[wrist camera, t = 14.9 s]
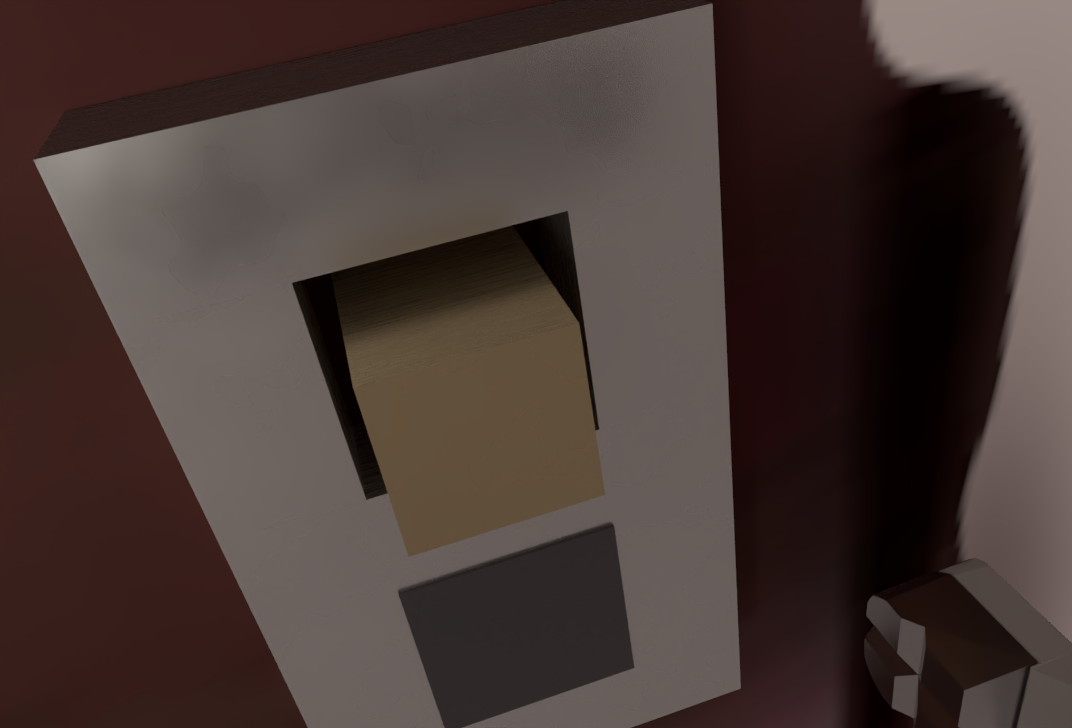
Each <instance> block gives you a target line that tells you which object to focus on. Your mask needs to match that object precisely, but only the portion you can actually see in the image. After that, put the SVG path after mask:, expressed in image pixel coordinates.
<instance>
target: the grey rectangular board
mask: <svg viewBox="0 0 1072 728" xmlns="http://www.w3.org/2000/svg"><path fill="white" fill-rule="evenodd" d="M34 162H35V164H36V166H37V168H38V170H39V172H40V175H41V177H42V179H43V181H44V183H45V185H46V187H47V189H48V191H49V193H50V195H51V197H52V199H53V201H54V203H55V206H56V208H57V210H58V212H59V214H60V216H61V218H62V220H63V222H64V224H65V226H66V228H67V230H68V232H69V235H70V237H71V239H72V241H73V243H74V245H75V247H76V249H77V251H78V253H79V255H80V257H81V259H82V261H83V263H84V266H85V268H86V270H87V272H88V274H89V276H90V278H91V280H92V282H93V284H94V286H95V288H96V290H97V292H98V294H99V297H100V299H101V301H102V303H103V305H104V307H105V309H106V311H107V313H108V315H109V317H110V319H111V321H112V323H113V326H114V328H115V330H116V332H117V334H118V336H119V338H120V340H121V342H122V344H123V346H124V348H125V350H126V352H127V354H128V357H129V359H130V361H131V363H132V365H133V367H134V369H135V371H136V373H137V375H138V377H139V379H140V381H141V383H142V385H143V388H144V390H145V392H146V394H147V396H148V398H149V400H150V402H151V404H152V406H153V408H154V410H155V412H156V414H157V417H158V419H159V421H160V423H161V425H162V427H163V429H164V431H165V433H166V435H167V437H168V439H169V441H170V443H171V445H172V448H173V450H174V452H175V454H176V456H177V458H178V460H179V462H180V464H181V466H182V468H183V470H184V472H185V474H186V476H187V479H188V481H189V483H190V485H191V487H192V489H193V491H194V493H195V495H196V497H197V499H198V501H199V503H200V505H201V508H202V510H203V512H204V514H205V516H206V518H207V520H208V522H209V524H210V526H211V528H212V530H213V532H214V534H215V536H216V539H217V541H218V543H219V545H220V547H221V549H222V551H223V553H224V555H225V557H226V559H227V561H228V563H229V565H230V567H231V570H232V572H233V574H234V576H235V578H236V580H237V582H238V584H239V586H240V588H241V590H242V592H243V594H244V596H245V599H246V601H247V603H248V605H249V607H250V609H251V611H252V613H253V615H254V617H255V619H256V621H257V623H258V625H259V627H260V630H261V632H262V634H263V636H264V638H265V640H266V642H267V644H268V646H269V648H270V650H271V652H272V654H273V656H274V658H275V661H276V663H277V665H278V667H279V669H280V671H281V673H282V675H283V677H284V679H285V681H286V683H287V685H288V687H289V690H290V692H291V694H292V696H293V698H294V700H295V702H296V704H297V706H298V708H299V710H300V712H301V714H302V716H303V718H304V721H305V723H306V725H307V727H308V728H632V727H634V726H637V725H640V724H643V723H645V722H648V721H651V720H654V719H657V718H659V717H662V716H665V715H668V714H671V713H673V712H676V711H679V710H682V709H685V708H687V707H690V706H693V705H696V704H699V703H701V702H704V701H707V700H710V699H713V698H715V697H718V696H721V695H724V694H727V693H729V692H732V691H735V690H738V689H741V682H740V657H739V633H738V609H737V585H736V561H735V536H734V512H733V488H732V464H731V439H730V415H729V391H728V367H727V343H726V318H725V294H724V270H723V246H722V222H721V197H720V173H719V149H718V125H717V100H716V76H715V52H714V28H713V4H712V3H710V2H707V1H705V0H563V1H558V2H554V3H549V4H545V5H540V6H536V7H531V8H527V9H522V10H518V11H513V12H509V13H504V14H500V15H495V16H491V17H487V18H482V19H478V20H473V21H469V22H464V23H460V24H455V25H451V26H446V27H442V28H437V29H433V30H428V31H424V32H419V33H415V34H411V35H406V36H402V37H397V38H393V39H388V40H384V41H379V42H375V43H370V44H366V45H361V46H357V47H352V48H348V49H343V50H339V51H335V52H330V53H326V54H321V55H317V56H312V57H308V58H303V59H299V60H294V61H290V62H285V63H281V64H276V65H272V66H267V67H263V68H259V69H254V70H250V71H245V72H241V73H236V74H232V75H227V76H223V77H218V78H214V79H209V80H205V81H200V82H196V83H191V84H187V85H183V86H178V87H174V88H169V89H165V90H160V91H156V92H151V93H147V94H142V95H138V96H133V97H129V98H124V99H120V100H115V101H111V102H107V103H102V104H98V105H93V106H89V107H84V108H80V109H75V110H71V111H66V112H64V113H63V115H62V116H61V118H60V119H59V121H58V122H57V124H56V126H55V127H54V129H53V130H52V132H51V133H50V135H49V136H48V138H47V140H46V141H45V143H44V144H43V146H42V147H41V149H40V150H39V152H38V153H37V155H36V157H35V158H34ZM534 219H537V222H538V228H539V234H540V241H541V247H542V253H543V259H544V265H545V271H546V275H547V277H548V278H549V280H550V281H551V283H552V284H553V285H554V287H555V288H556V290H557V291H558V293H559V294H560V296H561V297H562V299H563V300H564V302H565V303H566V305H567V306H568V307H569V309H570V310H571V312H572V313H573V315H574V316H575V318H576V319H577V321H578V322H579V325H580V332H581V339H582V345H583V352H584V358H585V365H586V372H587V378H588V385H589V392H590V398H591V405H592V411H593V418H594V425H595V431H596V438H597V444H598V451H599V458H600V464H601V471H602V478H603V484H604V491H605V495H603V496H600V497H597V498H594V499H591V500H587V501H584V502H581V503H578V504H575V505H572V506H568V507H565V508H562V509H559V510H556V511H553V512H549V513H546V514H543V515H540V516H537V517H534V518H530V519H527V520H524V521H521V522H518V523H515V524H511V525H508V526H505V527H502V528H499V529H496V530H492V531H489V532H486V533H483V534H480V535H477V536H473V537H470V538H467V539H464V540H461V541H458V542H454V543H451V544H448V545H445V546H442V547H439V548H436V549H432V550H429V551H426V552H423V553H420V554H417V555H413V556H410V557H409V556H408V553H407V550H406V547H405V544H404V541H403V538H402V535H401V532H400V529H399V526H398V523H397V520H396V517H395V514H394V511H393V507H392V504H391V501H390V498H389V495H388V492H387V489H386V486H385V483H384V480H383V477H382V474H381V471H380V468H379V465H378V462H377V459H376V456H375V453H374V450H373V447H372V444H371V441H370V438H369V435H368V432H367V429H366V426H365V423H364V422H362V423H359V424H356V425H352V422H351V419H350V416H349V413H348V410H347V407H346V404H345V401H344V398H343V395H342V392H341V389H340V386H339V383H338V380H337V377H336V374H335V371H334V368H333V365H332V362H331V359H330V356H329V353H328V350H327V347H326V344H325V341H324V338H323V335H322V332H321V329H320V326H319V323H318V320H317V317H316V314H315V311H314V308H313V305H312V302H311V299H310V296H309V293H308V290H307V287H306V284H305V281H304V280H305V279H308V278H312V277H316V276H320V275H324V274H328V273H331V272H335V271H339V270H343V269H347V268H351V267H354V266H358V265H362V264H366V263H370V262H373V261H377V260H381V259H385V258H389V257H393V256H396V255H400V254H404V253H408V252H412V251H416V250H419V249H423V248H427V247H431V246H435V245H439V244H442V243H446V242H450V241H454V240H458V239H461V238H465V237H469V236H473V235H477V234H481V233H484V232H488V231H492V230H496V229H500V228H504V227H507V226H511V225H515V224H519V223H523V222H527V221H530V220H534Z"/></svg>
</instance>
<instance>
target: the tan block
mask: <svg viewBox="0 0 1072 728" xmlns="http://www.w3.org/2000/svg"><path fill="white" fill-rule="evenodd" d="M331 277H332V282H333V287H334V292H335V298H336V303H337V308H338V313H339V318H340V323H341V328H342V334H343V339H344V344H345V349H346V354H347V359H348V365H349V370H350V375H351V380H352V385H353V389H354V392H355V395H356V398H357V401H358V404H359V407H360V410H361V413H362V417H363V420H364V423H365V426H366V429H367V432H368V435H369V438H370V441H371V444H372V447H373V450H374V453H375V456H376V459H377V462H378V465H379V468H380V471H381V474H382V477H383V480H384V483H385V486H386V489H387V492H388V495H389V498H390V501H391V504H392V507H393V511H394V514H395V517H396V520H397V523H398V526H399V529H400V532H401V535H402V538H403V541H404V544H405V547H406V550H407V553H408V556H409V557H410V556H413V555H417V554H420V553H423V552H426V551H429V550H432V549H436V548H439V547H442V546H445V545H448V544H451V543H454V542H458V541H461V540H464V539H467V538H470V537H473V536H477V535H480V534H483V533H486V532H489V531H492V530H496V529H499V528H502V527H505V526H508V525H511V524H515V523H518V522H521V521H524V520H527V519H530V518H534V517H537V516H540V515H543V514H546V513H549V512H553V511H556V510H559V509H562V508H565V507H568V506H572V505H575V504H578V503H581V502H584V501H587V500H591V499H594V498H597V497H600V496H603V495H605V491H604V484H603V478H602V471H601V464H600V458H599V451H598V444H597V438H596V431H595V425H594V418H593V411H592V405H591V398H590V392H589V385H588V378H587V372H586V365H585V358H584V352H583V345H582V339H581V332H580V325H579V322H578V321H577V319H576V318H575V316H574V315H573V313H572V312H571V310H570V309H569V307H568V306H567V305H566V303H565V302H564V300H563V299H562V297H561V296H560V294H559V293H558V291H557V290H556V288H555V287H554V285H553V284H552V283H551V281H550V280H549V278H548V277H547V275H546V274H545V272H544V271H543V269H542V268H541V266H540V265H539V263H538V262H537V260H536V259H535V258H534V256H533V255H532V253H531V252H530V250H529V249H528V247H527V246H526V244H525V243H524V241H523V240H522V238H521V237H520V236H519V234H518V233H517V231H516V230H515V228H514V227H513V225H511V226H507V227H504V228H500V229H496V230H492V231H488V232H484V233H481V234H477V235H473V236H469V237H465V238H461V239H458V240H454V241H450V242H446V243H442V244H439V245H435V246H431V247H427V248H423V249H419V250H416V251H412V252H408V253H404V254H400V255H396V256H393V257H389V258H385V259H381V260H377V261H373V262H370V263H366V264H362V265H358V266H354V267H351V268H347V269H343V270H339V271H335V272H331Z"/></svg>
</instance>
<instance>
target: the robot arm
mask: <svg viewBox="0 0 1072 728" xmlns="http://www.w3.org/2000/svg"><path fill="white" fill-rule="evenodd" d="M866 616H867V617H868V618H869V619H870V621H871V622H872V623H873V624H874V626H873V628H872V629H871V630H870V632H869V633H868V635H867V636H866V637H865V652H864V656H865V659H866V662H867V665H868V668H869V672H870V675H871V677H872V679H873V681H874V682H875V684H876V686H877V688H878V690H879V691H880V693H881V694H882V695H883V697H884V698H885V699H886V701H887V702H888V703H889V705H890V706H891V707H892V708H893V709H895V710H897V711H900V712H902V713H904V714H906V715H908V716H910V717H912V718H914V728H1072V643H1071V642H1070V641H1069V640H1068V639H1067V638H1065V637H1064V636H1063V635H1062V634H1061V633H1060V632H1059V631H1058V630H1057V629H1056V628H1055V627H1054V626H1053V625H1052V624H1051V623H1050V622H1048V621H1047V620H1046V619H1045V618H1044V617H1043V616H1042V615H1041V614H1040V613H1039V612H1038V611H1037V610H1035V608H1033V607H1032V606H1031V605H1030V604H1029V603H1028V602H1027V601H1026V600H1025V599H1024V598H1023V597H1022V596H1020V594H1018V593H1017V592H1016V591H1015V590H1014V589H1013V588H1012V587H1011V586H1010V585H1009V584H1008V583H1007V582H1006V581H1005V580H1004V579H1003V578H1001V577H1000V576H999V575H998V574H997V573H996V572H995V571H994V570H993V569H992V568H991V567H990V566H989V565H988V564H987V563H985V562H983V561H981V560H979V559H976V558H974V559H969V560H966V561H963V562H961V563H958V564H956V565H953V566H951V567H948V568H945V569H943V570H940V571H934V572H932V573H929V574H926V575H924V576H921V577H919V578H916V579H914V580H911V581H909V582H906V583H903V584H901V585H898V586H896V587H893V588H891V589H888V590H885V591H883V592H880V593H878V594H875V595H873V596H872V597H871V598H870V600H869V601H868V603H867V614H866Z"/></svg>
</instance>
